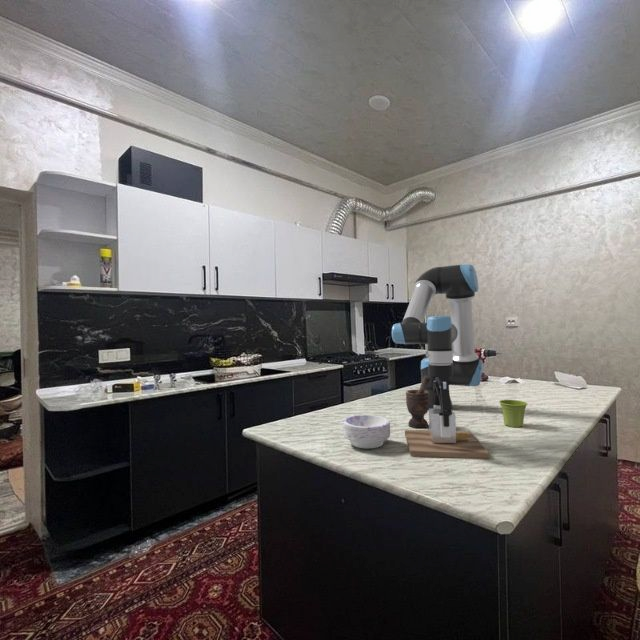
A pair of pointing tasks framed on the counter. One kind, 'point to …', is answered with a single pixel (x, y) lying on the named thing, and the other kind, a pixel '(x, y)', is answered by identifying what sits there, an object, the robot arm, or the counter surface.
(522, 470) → the counter surface
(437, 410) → the grey block with bar
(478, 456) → the board
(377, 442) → the paper bowls
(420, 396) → the mortar and pestle
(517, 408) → the plant pot
